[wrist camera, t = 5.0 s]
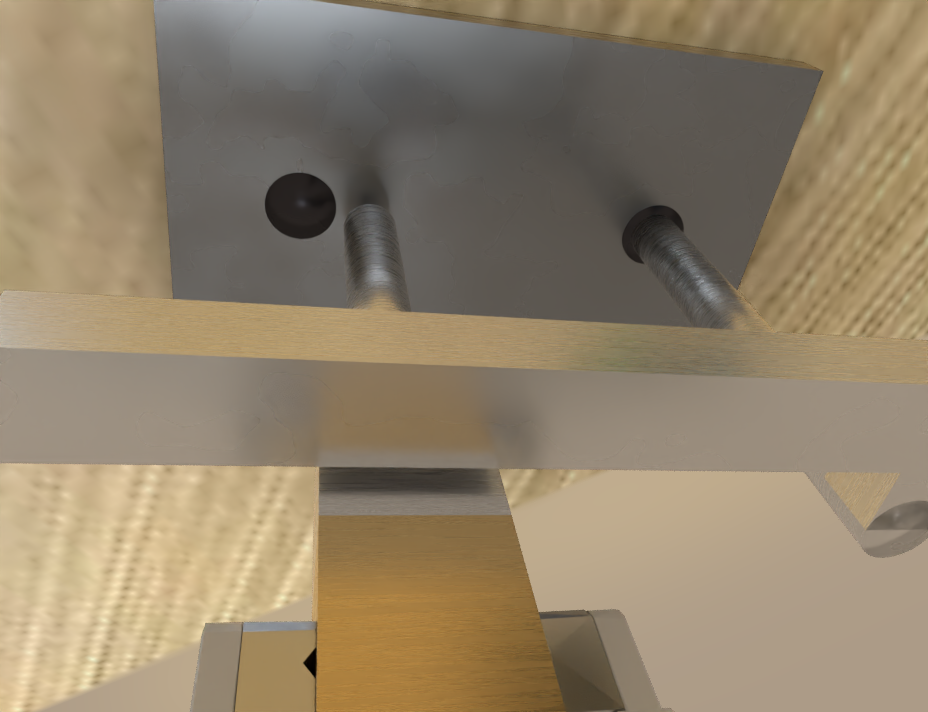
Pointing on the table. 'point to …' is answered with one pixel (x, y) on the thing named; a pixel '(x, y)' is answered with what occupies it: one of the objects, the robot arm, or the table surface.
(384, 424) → the divider frame
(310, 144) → the bolt plate
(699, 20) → the table surface
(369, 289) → the leg
